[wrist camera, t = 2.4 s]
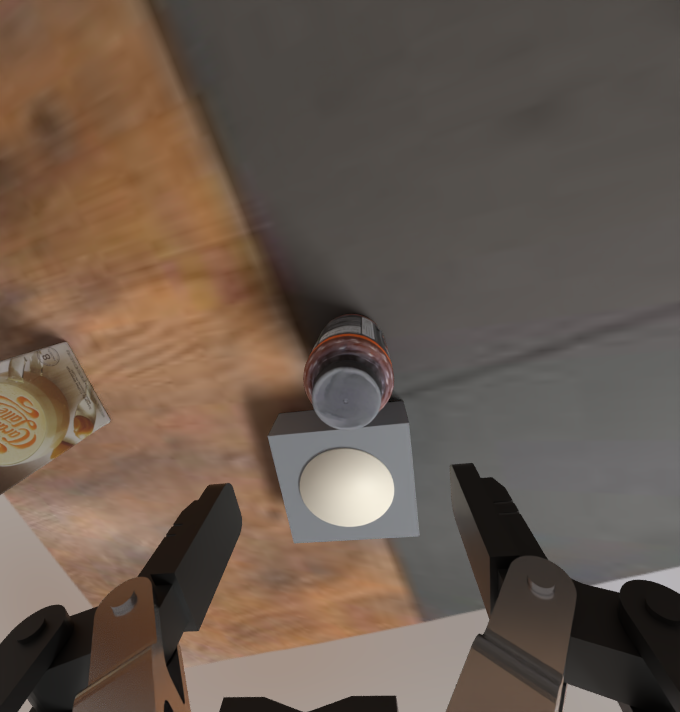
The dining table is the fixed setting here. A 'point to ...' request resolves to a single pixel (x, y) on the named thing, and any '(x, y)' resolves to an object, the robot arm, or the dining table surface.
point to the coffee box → (43, 410)
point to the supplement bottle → (349, 373)
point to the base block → (346, 476)
